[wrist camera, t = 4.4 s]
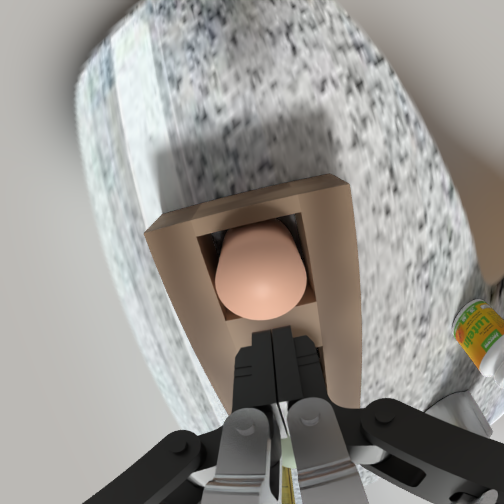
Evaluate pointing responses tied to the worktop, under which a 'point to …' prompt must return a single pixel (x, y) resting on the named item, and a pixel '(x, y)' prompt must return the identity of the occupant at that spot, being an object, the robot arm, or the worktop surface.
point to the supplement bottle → (482, 338)
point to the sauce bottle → (287, 487)
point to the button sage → (287, 453)
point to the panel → (307, 309)
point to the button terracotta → (260, 271)
